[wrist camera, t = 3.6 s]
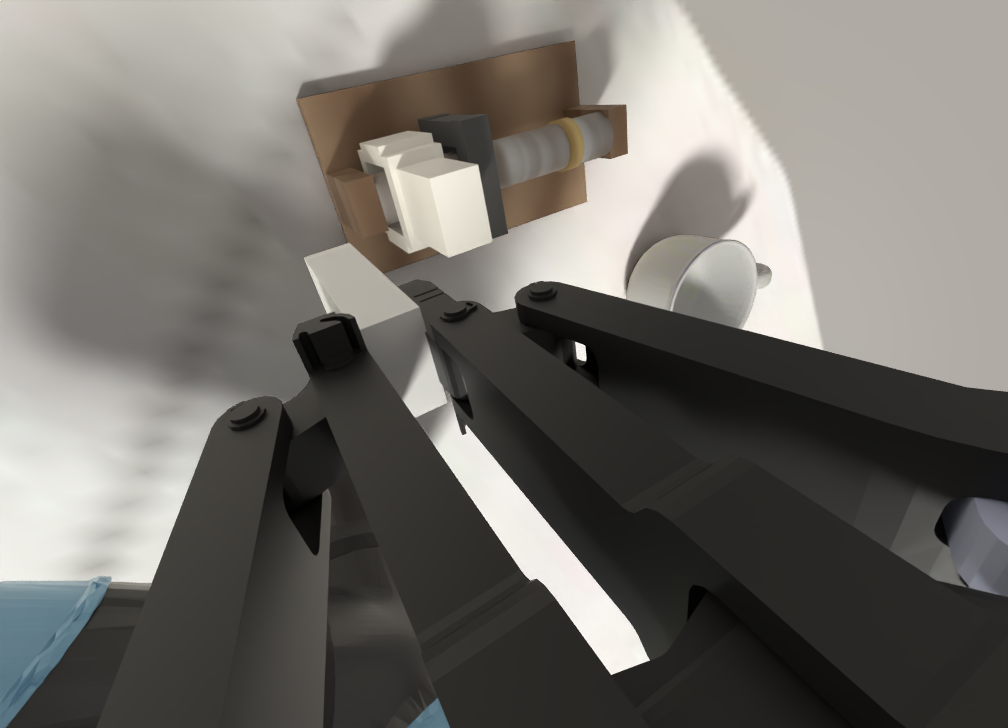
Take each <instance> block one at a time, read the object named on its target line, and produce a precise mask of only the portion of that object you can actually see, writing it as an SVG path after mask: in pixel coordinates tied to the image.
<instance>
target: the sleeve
mask: <svg viewBox="0 0 1008 728" xmlns="http://www.w3.org/2000/svg"><path fill="white" fill-rule="evenodd" d="M359 145H360V148H361V150H357V151H358V155H359V158H360V161H361V164H362V167H363V170H364V173H367V174H374V173H377V172H381V171H384V170H385V173H386V177H387V180H388V184H389V187H390V191H391V194H392V197H393V201H394V204H395V208H396V211H397V215H398V218H399V221H398V222H395V223H392V224H389V225H388V229H389V231H386V233H387V235H388V238H389V241H391V242H392V243H394V244H395V245H397V246H398V247H400V248H401V249H403V250H404V251H406V252H407V253H409V254H410V253H412V252H415V251H418V250H421V249H424V248H427V247H431V248H433V249H435V250H436V251H438V252H440V253H441V254H443V255H445V256H447V257H448V258H449V257H452V256H455V255H458V254H460V253H463V252H466V251H469V250H472V249H474V248H477V247H480V246H483V245H486V244H488V243H491V242H493V241H492V236H491V230H490V225H489V220H488V214H487V209H486V204H485V199H484V193H483V188H482V183H481V177H480V172H479V167H478V164H473V163H468V162H462V161H457V160H452V159H447V158H444V155H443V150H442V146H441V143H436V142H434V141H433V137H432V133H426V132H415V131H405V132H401V133H397V134H393V135H390V136H386V137H382V138H378V139H374V140H370V141H366V142H362V143H359Z"/></svg>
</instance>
